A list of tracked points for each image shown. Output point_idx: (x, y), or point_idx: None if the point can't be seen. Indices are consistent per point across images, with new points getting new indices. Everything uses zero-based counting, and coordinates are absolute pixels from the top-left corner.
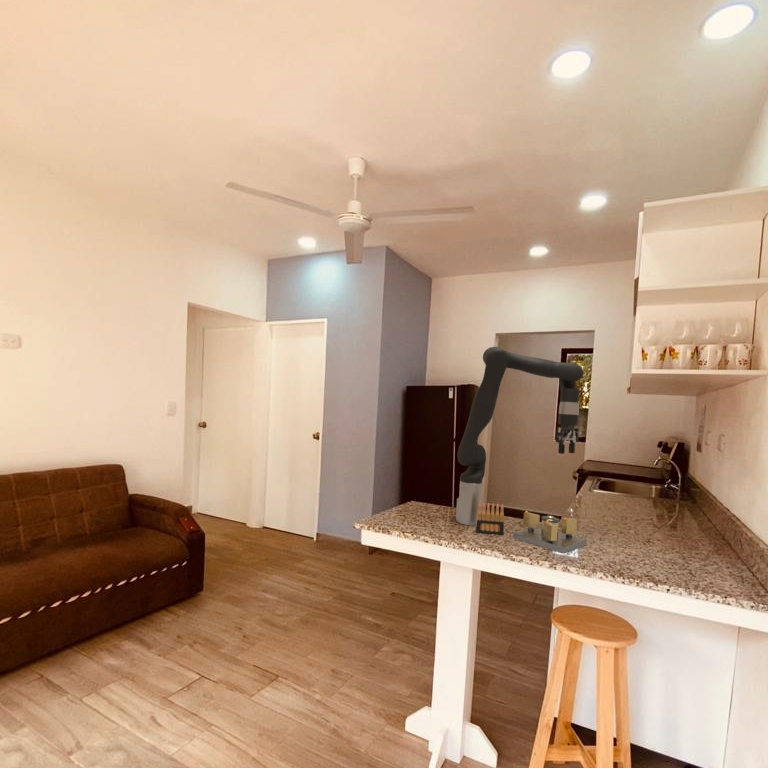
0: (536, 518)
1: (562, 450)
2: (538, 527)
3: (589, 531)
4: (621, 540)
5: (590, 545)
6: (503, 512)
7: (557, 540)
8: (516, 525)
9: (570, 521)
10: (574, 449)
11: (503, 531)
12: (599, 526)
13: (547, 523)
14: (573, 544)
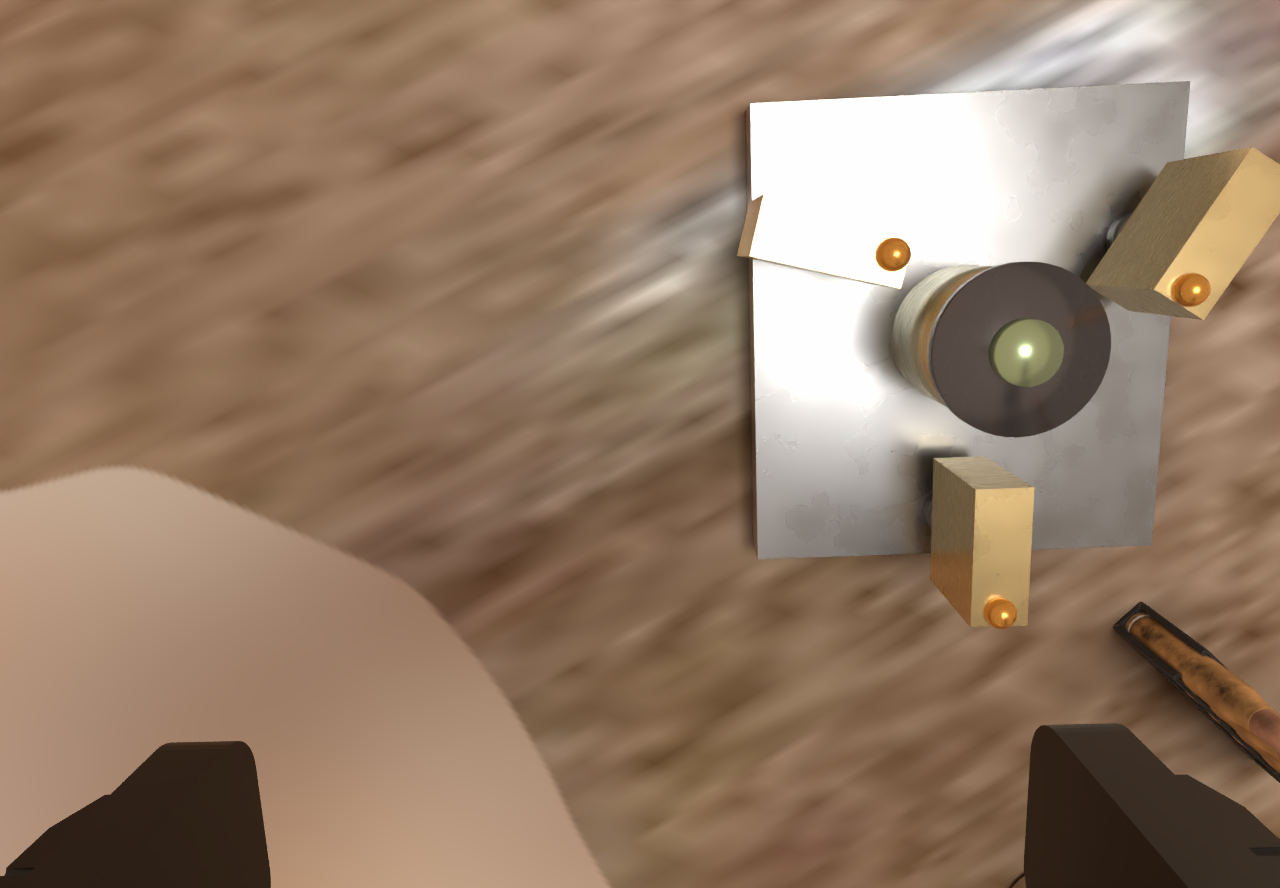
0: (1022, 482)
1: (1203, 827)
2: (948, 460)
3: (297, 318)
4: (279, 16)
5: (720, 87)
6: (1254, 702)
7: (1030, 224)
8: (769, 718)
9: (862, 215)
10: (112, 824)
11: (1159, 615)
12: (28, 359)
13: (1241, 258)
14: (1005, 91)
